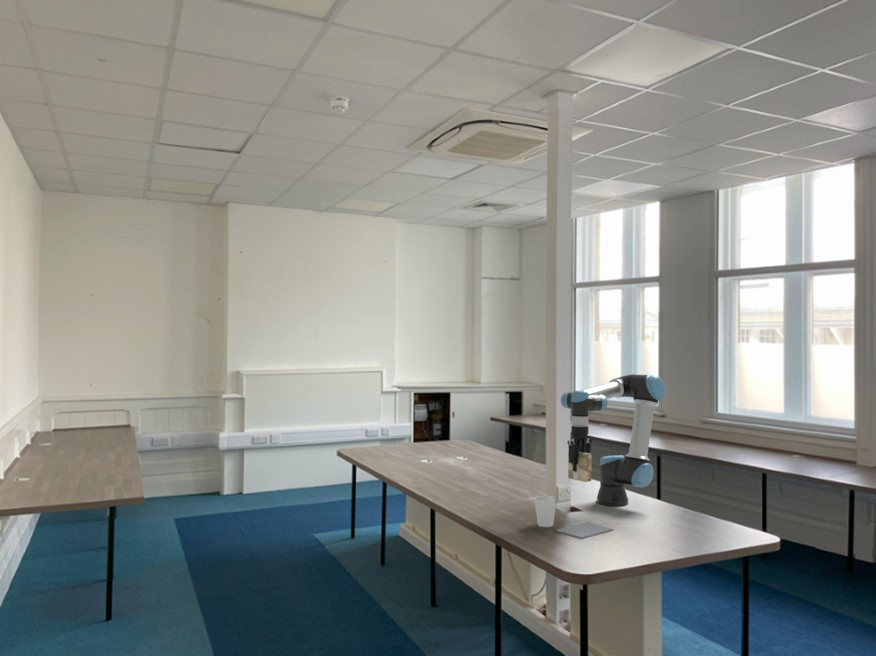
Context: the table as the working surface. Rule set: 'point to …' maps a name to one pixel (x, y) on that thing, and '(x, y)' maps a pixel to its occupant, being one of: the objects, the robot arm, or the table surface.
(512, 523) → the table surface
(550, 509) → the white tapered cylinder
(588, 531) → the mat
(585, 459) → the slab
